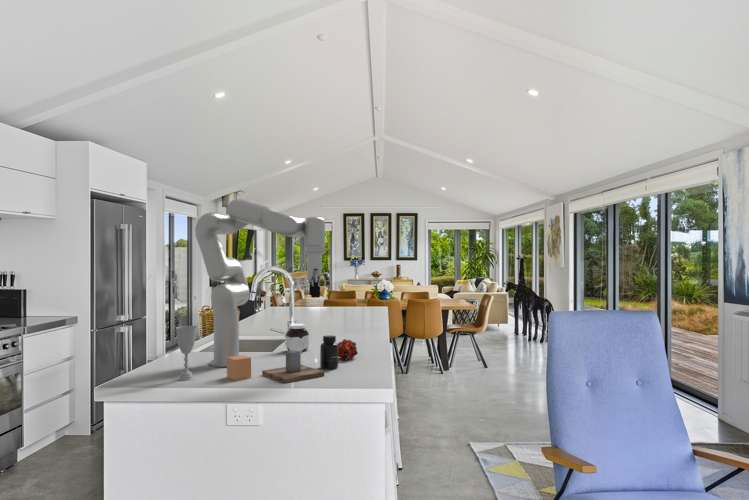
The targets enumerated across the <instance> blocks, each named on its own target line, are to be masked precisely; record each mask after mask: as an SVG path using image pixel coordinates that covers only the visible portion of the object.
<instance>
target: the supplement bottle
mask: <svg viewBox="0 0 749 500" xmlns="http://www.w3.org/2000/svg"><path fill="white" fill-rule="evenodd" d="M336 342H337V338H336V335H323V337H322V343H321V344H320V348H319V349H320V352H319V353H320V355H319V356H320V357H319V358H320V359H319V360H320V361H319V368H321V369H323V370H336V369H338V367H339V357H338V343H336Z"/></svg>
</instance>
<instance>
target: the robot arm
mask: <svg viewBox="0 0 749 500" xmlns="http://www.w3.org/2000/svg"><path fill="white" fill-rule="evenodd" d="M226 211H227V213H221V212H207V213H204V214H202V215H201V216H200V217H199V218H198V219H197V221H196V224H195V228H194V229H195V230H194V233H195V238H196V240H197V244H198V246H199V249H200V252H201V256H202V258H203V263H204V265H205V269H206V273H207V275H208V277H209V279H210V280H211V281H214V282H224V283H221V284H218V285H217V286H215V287H214V288H213V290H212V291H211V296H210V299H211V301H210V302H211V305H212V312H213V359H212V360H210V361H209V365H210V366H211V367H216V368H222V367H223V368H227V357H232V356H239V355H240V334H239V333H240V327H239V325H240V322H239V313H238V309H237V307H239V306H244V305H245V304H246V303H247V302H248V301H249V299H250V292H251V291H250V287H249V284H248V281H247V279H246V278H247V277H246V274H245V272H244V268H243V266H242V264H241V263H240V261H239V260H237V258H234V257H230V256H229V257H227V255H226V252H225V249H224V246H223V244H222V242H221V241H220V239H219V238H218V236H217V235H232V234H234V233H236V232H238V231H239V230H242V229H243V228H245V227H246V226H249V225H250V226H254V227H257V228H260V229H263V230H266V231H268V232H271V233H275V234H278V235H281V236H284V237H291V238H292V237H294V238H295V237H296V238H303V237H304V255H307V256H306V280H307V281H308V282H309V295H310V297H311V298H312V299H313V298H318V299H319V298H321V285H320V281H321V280H322V269H323V268H322V266H323V265H322V264H323V263H322V261H323V259H322V258H323V255H325V254H326V220H325V219H324V217H320V216H310V217H299V216H292V215H287V214H284V213H279V212H276V211H273V210H272V209H271V208H270V207H268V206H266V205H262V204H258V203H256V202H255V201H252V200H247V199H242V198H236V199H233V200H231V201H229V203H228V204H227V207H226Z"/></svg>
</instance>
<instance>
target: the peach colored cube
mask: <svg viewBox="0 0 749 500" xmlns="http://www.w3.org/2000/svg"><path fill="white" fill-rule="evenodd" d="M250 377H251V378H252V357H251V356H247V355H244V354H239V356H232V357H227V367H226V378H228V379H231V380H234V381H239V380H244V378H245V379H250Z"/></svg>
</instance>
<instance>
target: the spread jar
mask: <svg viewBox="0 0 749 500" xmlns="http://www.w3.org/2000/svg"><path fill="white" fill-rule="evenodd" d="M308 331H309V330H307V329H306V324H305V323H291V324H289V329H288V330H287V331H286V334H285V347H286V349H287V350H288V351H293V350H296V351H300V352H301V353H304V352H306V351H307V350H308V349H309V346H310V333H309V332H308Z"/></svg>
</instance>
